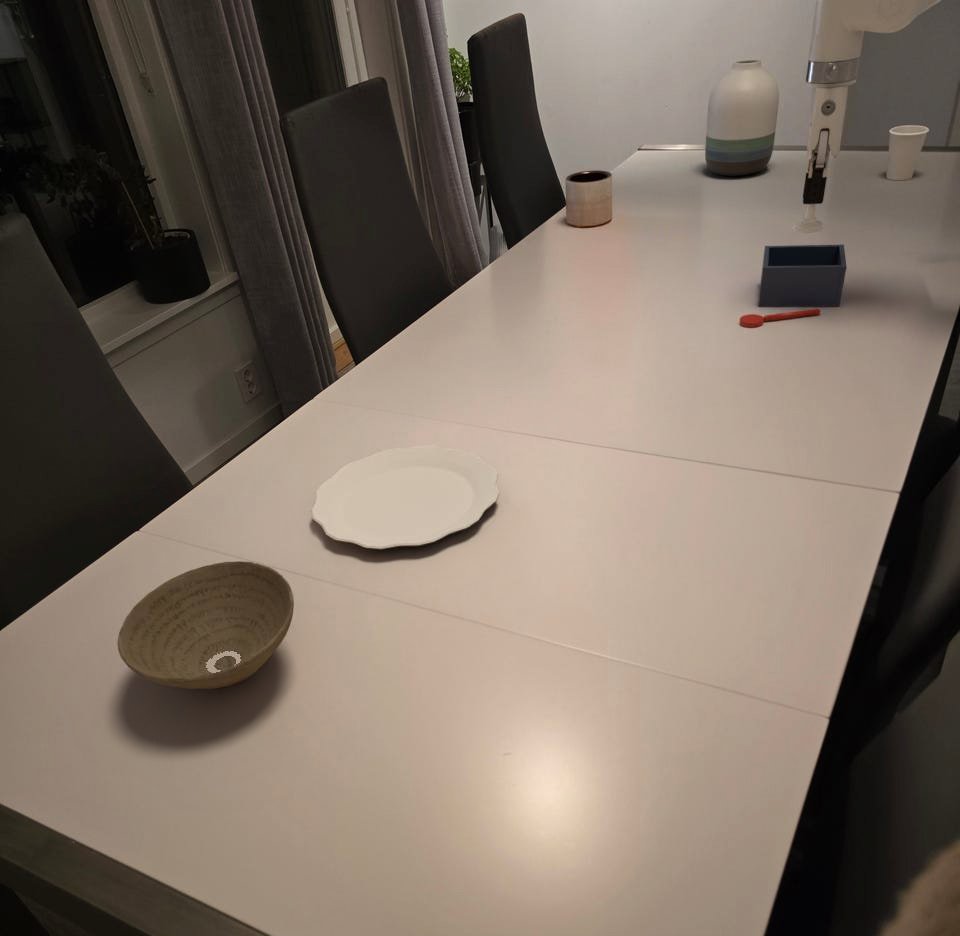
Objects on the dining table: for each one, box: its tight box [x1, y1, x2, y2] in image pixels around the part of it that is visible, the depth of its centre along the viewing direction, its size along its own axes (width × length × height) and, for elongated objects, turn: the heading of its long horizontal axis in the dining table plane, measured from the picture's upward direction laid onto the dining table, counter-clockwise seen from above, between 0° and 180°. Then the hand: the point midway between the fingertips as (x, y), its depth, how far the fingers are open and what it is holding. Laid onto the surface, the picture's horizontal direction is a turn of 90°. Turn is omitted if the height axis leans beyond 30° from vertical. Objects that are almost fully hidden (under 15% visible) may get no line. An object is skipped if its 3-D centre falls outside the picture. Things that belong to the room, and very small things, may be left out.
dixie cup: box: [885, 124, 930, 181], centre depth 196 cm, size 8×8×10 cm
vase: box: [704, 58, 780, 177], centre depth 210 cm, size 17×17×24 cm
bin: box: [758, 244, 847, 308], centre depth 150 cm, size 14×12×7 cm
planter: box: [565, 169, 613, 228], centre depth 195 cm, size 11×11×10 cm
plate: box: [310, 444, 500, 551], centre depth 112 cm, size 25×25×2 cm
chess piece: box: [792, 204, 824, 234], centre depth 142 cm, size 5×5×10 cm
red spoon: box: [739, 308, 821, 329], centre depth 145 cm, size 14×4×1 cm, turn 94°
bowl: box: [117, 560, 295, 690], centre depth 88 cm, size 18×18×8 cm
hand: (812, 200), depth 142 cm, fingers closed on chess piece
